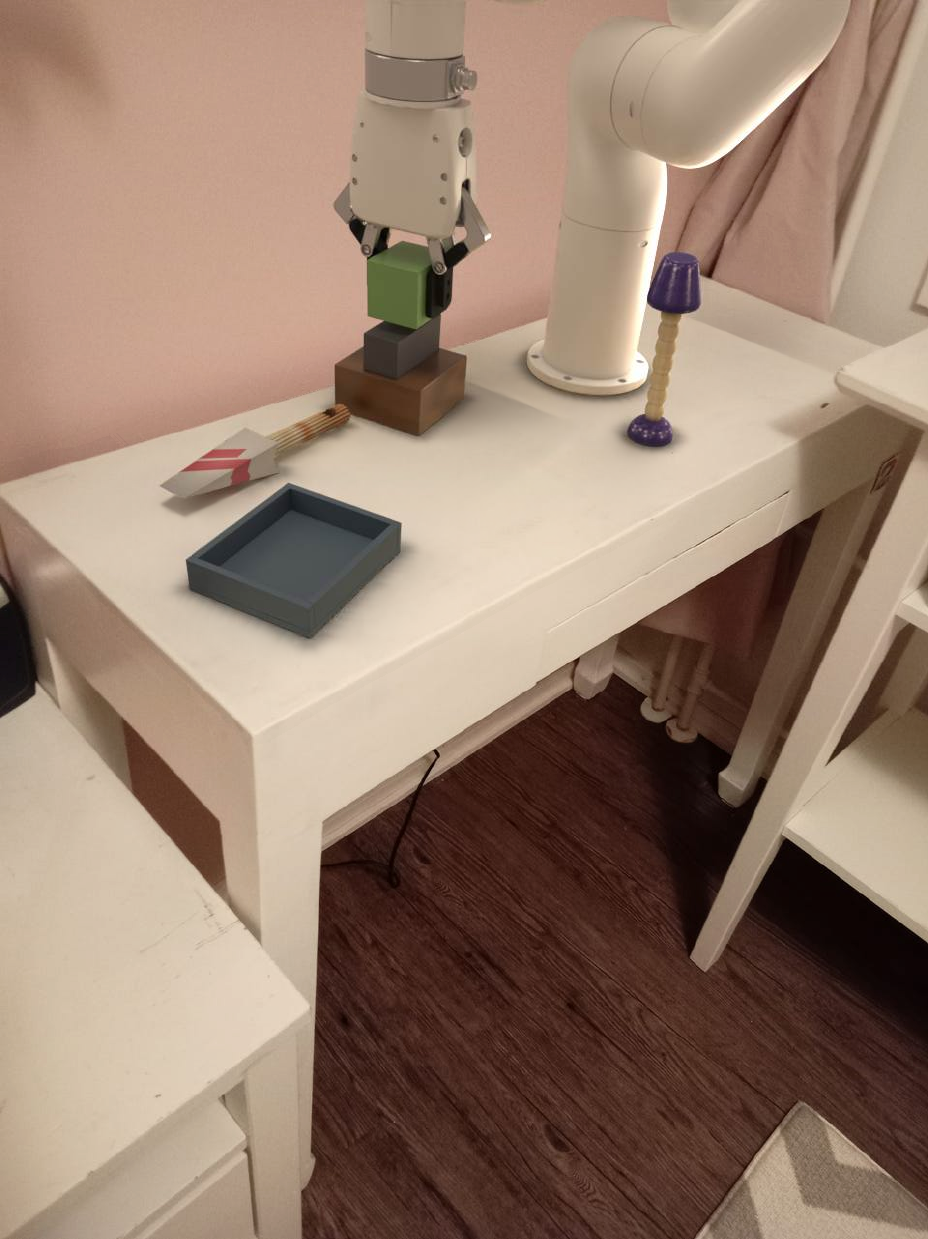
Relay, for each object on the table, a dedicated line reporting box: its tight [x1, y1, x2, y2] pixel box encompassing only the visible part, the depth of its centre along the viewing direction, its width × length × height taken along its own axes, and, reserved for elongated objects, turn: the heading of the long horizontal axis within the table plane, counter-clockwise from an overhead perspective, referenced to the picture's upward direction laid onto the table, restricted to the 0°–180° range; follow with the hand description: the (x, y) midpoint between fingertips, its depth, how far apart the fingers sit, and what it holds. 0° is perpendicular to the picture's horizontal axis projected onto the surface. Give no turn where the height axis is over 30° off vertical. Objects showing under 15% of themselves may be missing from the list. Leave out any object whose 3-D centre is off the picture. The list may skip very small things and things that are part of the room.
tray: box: [185, 482, 402, 639], centre depth 71 cm, size 12×10×3 cm
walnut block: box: [334, 345, 468, 437], centre depth 92 cm, size 9×9×4 cm
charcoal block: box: [363, 313, 442, 380], centre depth 89 cm, size 8×4×4 cm, turn 153°
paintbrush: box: [158, 404, 351, 500], centre depth 82 cm, size 4×3×20 cm
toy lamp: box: [626, 251, 702, 447], centre depth 87 cm, size 5×5×17 cm
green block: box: [366, 240, 450, 329], centre depth 86 cm, size 6×5×5 cm
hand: (408, 303), depth 87 cm, fingers closed on green block, 5 cm apart
